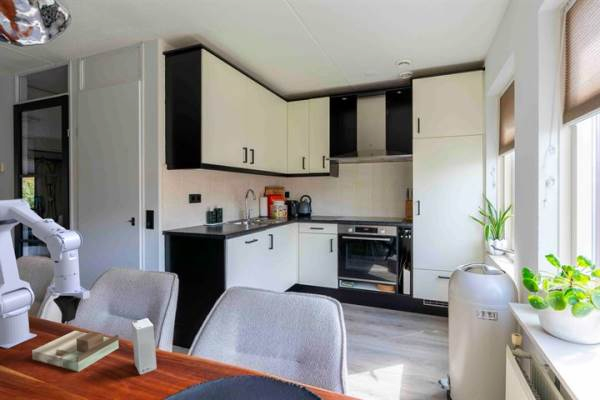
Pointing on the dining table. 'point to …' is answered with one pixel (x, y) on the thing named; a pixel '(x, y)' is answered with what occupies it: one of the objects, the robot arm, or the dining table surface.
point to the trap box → (73, 351)
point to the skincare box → (144, 346)
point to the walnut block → (89, 341)
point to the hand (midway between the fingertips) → (69, 320)
